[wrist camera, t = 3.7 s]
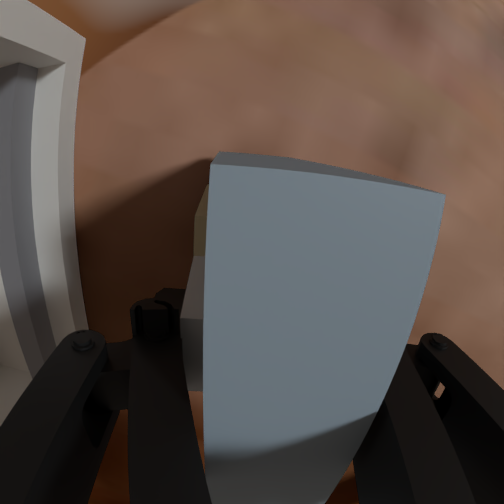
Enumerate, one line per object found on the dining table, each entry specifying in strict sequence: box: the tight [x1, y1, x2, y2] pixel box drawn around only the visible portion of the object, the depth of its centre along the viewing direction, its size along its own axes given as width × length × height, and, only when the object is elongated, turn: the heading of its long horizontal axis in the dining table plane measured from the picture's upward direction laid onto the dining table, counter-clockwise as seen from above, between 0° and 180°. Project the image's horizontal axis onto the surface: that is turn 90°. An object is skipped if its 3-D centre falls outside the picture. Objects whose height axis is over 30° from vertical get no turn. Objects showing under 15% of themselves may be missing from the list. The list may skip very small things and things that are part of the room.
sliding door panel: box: [193, 152, 446, 504], centre depth 11 cm, size 11×4×12 cm, turn 175°
